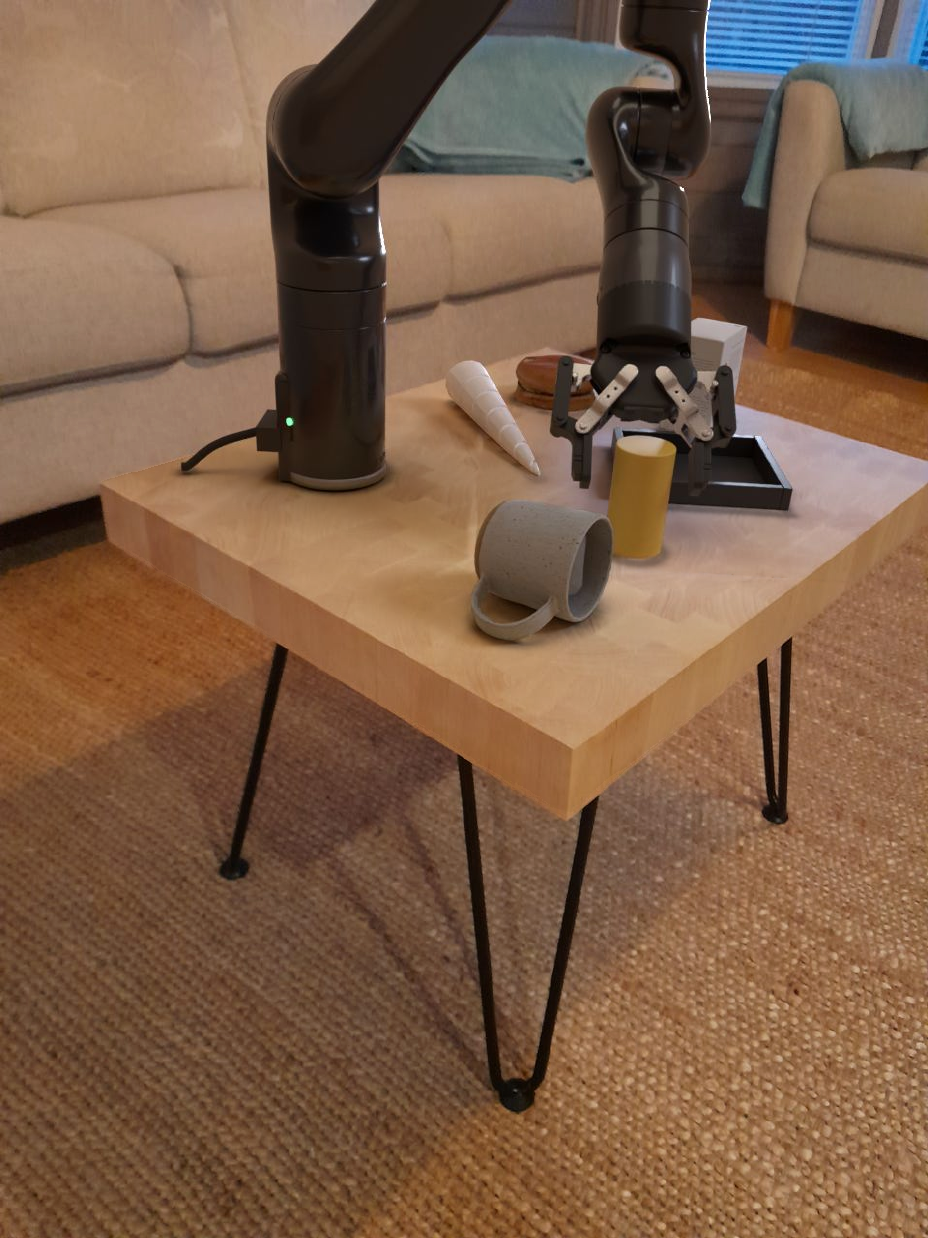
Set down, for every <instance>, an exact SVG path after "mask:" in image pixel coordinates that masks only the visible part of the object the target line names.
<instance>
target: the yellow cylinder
mask: <svg viewBox="0 0 928 1238" xmlns="http://www.w3.org/2000/svg"><path fill="white" fill-rule="evenodd" d="M675 455H676V447H675V446H674V445H673V444H672V443H670V442H668V441H666V440H663V439H660V438H656V437H651V436H628V437H623V438H621V439H619V440H618V441H617V442H616V448H615V456H614V458H613V465H612V472H611V481H610V490H609V497H608V507H607V514H606V517H607V518H608V519H609V521H610V523H611V525H612V528H613V536H614V547H613V555H617V556H619V557H622V558H627V559H635V560H637V559H638V560H639V559H641V560H642V559H650V558H653V557H656V556H658V555H659V554H660V553H661V552H662V545H663V540H664V532H665V526H666V520H667V514H668V507H669V504H668V501H669V494H670V488H671V481H672V475H673V468H674V461H675Z"/></svg>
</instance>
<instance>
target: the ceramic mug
mask: <svg viewBox="0 0 928 1238" xmlns="http://www.w3.org/2000/svg"><path fill="white" fill-rule="evenodd" d="M613 547H614V536H613V528H612V525H611V523H610V521H609V519H608V518H607V515H605V514H603V513H600V512H595V511H588V510H582V509H577V508H576V509H575V508H570V507H566V506H559V505H554V504H548V503H544V502H539V501H534V500H528V499H527V500H526V499H509V500H503V501H502V502H500V503H498V504H497V505H495V506H494V507H493V508H492V509H491V510H490V511H489V513H488V514H487V515H486V517H485V518H484V521H482V524H481V526H480V528H479V531H478V533H477V537H476V541H475V545H474V555H473V565H474V571H475V574H476V577H477V579H478V581H477V582H476V583H475V585H474V587H473V589H472V591H471V595H470V610H471V613H472V616H473V619H474V621H475V623H476V625H477V626H478V627H479V628H480V630H481V631H482V632H484V634H487V635H488V636H490V637H493V638H496V639H499V640H504V641H514V640H520V639H524V638H528V637H530V636H532V635H535V634H536V633H538V632H539V631H540V630H542V629H543V628H544V627H545V626H546V625H547V624H548V623H549V622H550V621H551V620H553V618H554V617H556V618H559V619H562V620H565V621H568V622H572V623H578V622H582V621H584V620H585V619H587V618H588V617H589V616H590V615H591V614H592V613H593V612H594V610H595V609H596V607H597V605H598V604H599V602H600V600H601V598H602V597H603V594H604V593H605V590H606V587H607V584H608V582H609V578H610V573H611V571H612V563H613V558H614V557H613V556H614V553H613ZM488 593H491V594H493V595H495V596H497V597H498V598H501V599H504V600H506V601H510V602H513V603H517V604H520V605H523V606H526V607H529V608H531V609H533V610H536V611H535V612H533V613H532V614H531V615H529V616H527V617H525V618H523V619H520V620H518V621H513V622H507V623H498V622H494V621H492V620H491V618H490V617H489V616H487V615H485V614H484V613H483V611H482V610H481V606H482V603H483V601H484V598H485V597H486V595H487V594H488Z"/></svg>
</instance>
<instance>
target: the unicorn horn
mask: <svg viewBox="0 0 928 1238" xmlns="http://www.w3.org/2000/svg"><path fill="white" fill-rule="evenodd" d="M445 389H446V390H447V391H446V392H447V395H448V397H450V398H451V400H452V401H453V402H454V404H457V406H458V407H460V409H461V410H462V411H463V412H464V413H465V414H466V415H467V416H468V417H469V418H470V419H472V420H473V422H474V423H476V424H477V426H479V427H480V428H481V429H482V430H483V431H484V432H485V433H486V434H487V435H488V436H489V437H490V438H491V439H492V440H493V441H494V442H496V443H497V444H498V445H499V446H500V447H501V448H502V449H503V450H504V451H505V452H506V453H507V454H509V455H510V456H511V457H512V458H513V459H514V460H515V461H517V462H518V463H519V464H520V465H521V466H523V467H524V468H525V469H527V471H529V472H531V473H532V474H534V475H536V476H540V475H541V470H540V469H539V465H538V462H535V461H536V459H535V456H534V454H533V453H532V450H531V448H530V446H529V444H528V443H527V440H526V439H525V437H524V435H523V433H522V431H521V429H520V428H519V426H518V424H517V422H516V420H515V418H514V416H513V415H512V413H511V411H510V409H509V408H508V406H507V404H506V403H505V400H504V399H503V397H502V396H501V394H500V392H499V390H498V388H497V386H496V385H495V383H494V381H493V380H492V378H491V376H490V374H489V372H488V370H487V369H486V368H485V367H484V366H483V364H482V363H481V362H478V361H475V360H472V359H471V360H463V361H460V362H458V363H456V364H454V365H453V366H452V367H451V368H450V369H449V370H448V372H447V375H446V377H445Z"/></svg>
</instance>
